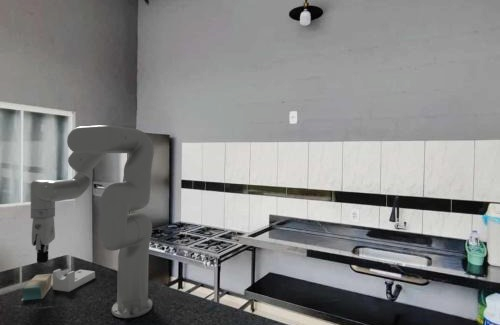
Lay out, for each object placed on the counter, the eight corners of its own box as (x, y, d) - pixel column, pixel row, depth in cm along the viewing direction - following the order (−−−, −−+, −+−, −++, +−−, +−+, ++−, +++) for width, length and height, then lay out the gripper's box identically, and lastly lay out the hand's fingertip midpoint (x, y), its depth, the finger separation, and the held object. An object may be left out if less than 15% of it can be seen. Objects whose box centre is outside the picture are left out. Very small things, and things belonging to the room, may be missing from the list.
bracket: (68, 294, 110) (69, 273, 110) (52, 291, 112) (52, 271, 111) (94, 280, 123) (95, 261, 123) (80, 278, 124) (80, 259, 124)
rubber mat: (42, 299, 105) (42, 298, 105) (20, 302, 103) (20, 300, 103) (58, 278, 123) (58, 276, 123) (40, 279, 121) (40, 278, 121)
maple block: (51, 284, 116) (40, 298, 105) (36, 285, 114) (23, 300, 103) (51, 273, 116) (40, 287, 104) (36, 275, 114) (23, 288, 103)
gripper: (47, 216, 107) (47, 268, 107) (60, 209, 121) (60, 254, 122) (22, 217, 105) (22, 270, 105) (38, 209, 119) (38, 256, 119)
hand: (42, 261), depth 113 cm, fingers closed
